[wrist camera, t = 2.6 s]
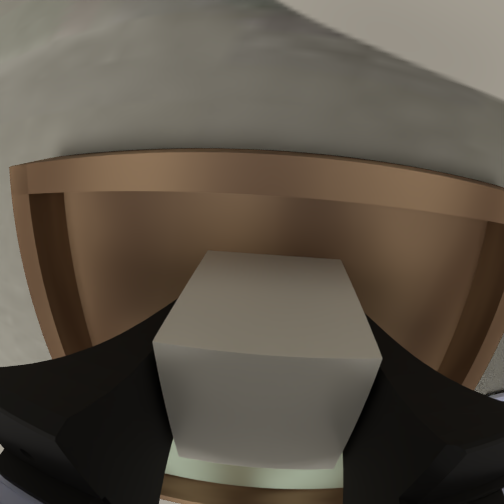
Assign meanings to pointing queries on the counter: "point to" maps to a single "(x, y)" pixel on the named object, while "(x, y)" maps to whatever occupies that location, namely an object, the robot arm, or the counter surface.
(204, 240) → the sorting tray
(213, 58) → the counter surface
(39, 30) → the counter surface
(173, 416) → the stone block
